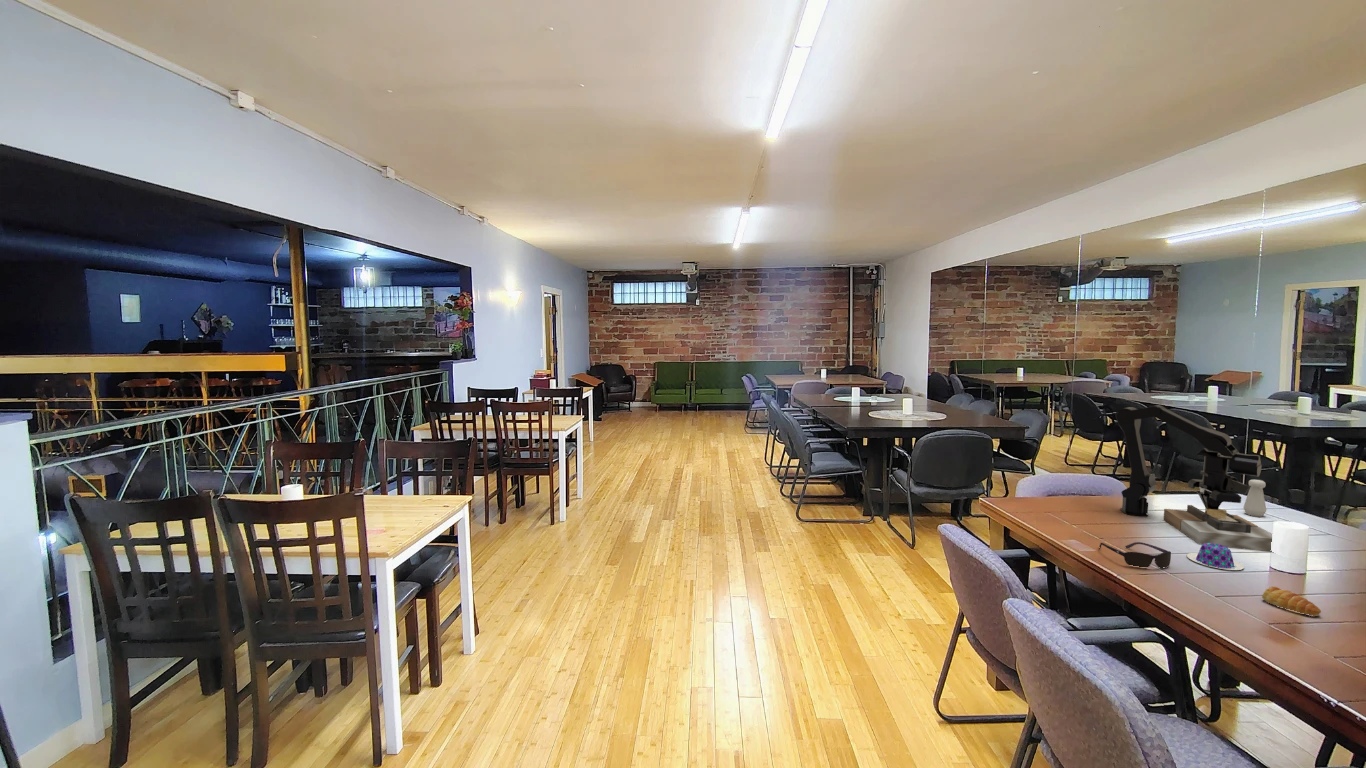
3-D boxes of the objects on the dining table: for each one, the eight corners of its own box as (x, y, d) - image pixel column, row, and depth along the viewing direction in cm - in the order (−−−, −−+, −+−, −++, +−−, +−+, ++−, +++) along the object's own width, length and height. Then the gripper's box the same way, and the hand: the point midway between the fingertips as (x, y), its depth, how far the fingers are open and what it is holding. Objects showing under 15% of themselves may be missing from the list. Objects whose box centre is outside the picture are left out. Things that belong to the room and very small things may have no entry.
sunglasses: (1130, 570, 153) (1131, 553, 153) (1089, 548, 169) (1090, 533, 169) (1178, 570, 153) (1179, 553, 153) (1132, 548, 169) (1133, 533, 169)
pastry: (1328, 616, 128) (1329, 601, 127) (1307, 620, 126) (1309, 604, 126) (1277, 598, 137) (1278, 583, 137) (1257, 601, 135) (1258, 586, 135)
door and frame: (1199, 543, 171) (1200, 524, 171) (1163, 519, 194) (1164, 501, 193) (1282, 552, 164) (1284, 531, 164) (1235, 526, 186) (1237, 507, 186)
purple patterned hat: (1176, 557, 162) (1177, 540, 162) (1205, 553, 165) (1207, 536, 164) (1224, 574, 150) (1226, 556, 150) (1255, 569, 153) (1256, 552, 153)
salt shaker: (1270, 517, 195) (1274, 482, 194) (1254, 517, 195) (1257, 482, 194) (1254, 512, 201) (1257, 478, 199) (1238, 512, 201) (1241, 478, 199)
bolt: (1217, 526, 175) (1218, 515, 175) (1204, 518, 182) (1205, 507, 182) (1237, 528, 173) (1238, 517, 173) (1223, 519, 181) (1224, 509, 180)
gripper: (1264, 479, 170) (1260, 527, 171) (1229, 465, 187) (1225, 509, 189) (1219, 476, 174) (1215, 523, 175) (1189, 463, 191) (1185, 506, 193)
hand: (1211, 515), depth 183 cm, fingers closed
